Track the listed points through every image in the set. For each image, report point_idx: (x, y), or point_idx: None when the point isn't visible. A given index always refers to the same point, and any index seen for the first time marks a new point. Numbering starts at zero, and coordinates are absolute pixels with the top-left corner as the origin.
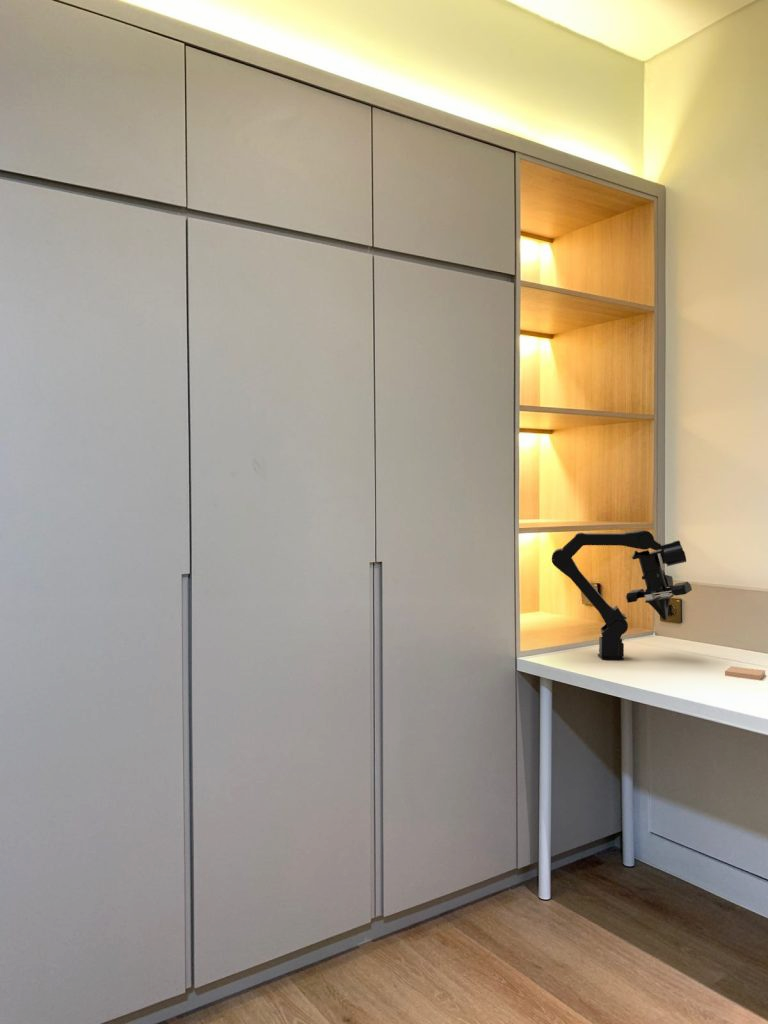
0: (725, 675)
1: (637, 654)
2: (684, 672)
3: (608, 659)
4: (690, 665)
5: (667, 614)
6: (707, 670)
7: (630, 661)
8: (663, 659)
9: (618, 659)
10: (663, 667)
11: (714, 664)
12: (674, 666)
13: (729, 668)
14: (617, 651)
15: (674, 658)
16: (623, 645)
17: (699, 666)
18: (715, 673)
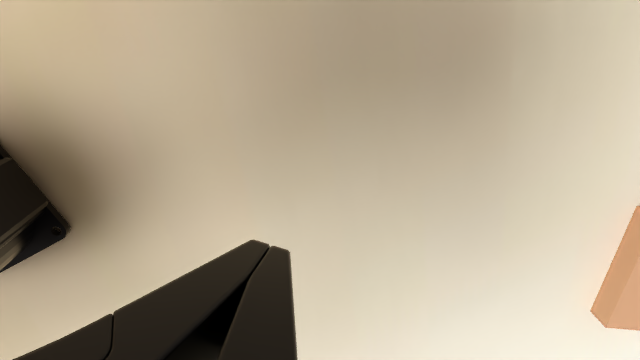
0: (594, 313)
1: (70, 6)
2: (414, 329)
3: (2, 269)
4: (437, 172)
5: (290, 298)
6: (521, 243)
7: (117, 235)
8: (270, 85)
9: (48, 245)
10: (309, 283)
11: (573, 75)
12: (357, 236)
13: (638, 269)
14: (8, 259)
15: (329, 14)
16: (3, 237)
17: (484, 173)
18: (553, 284)
